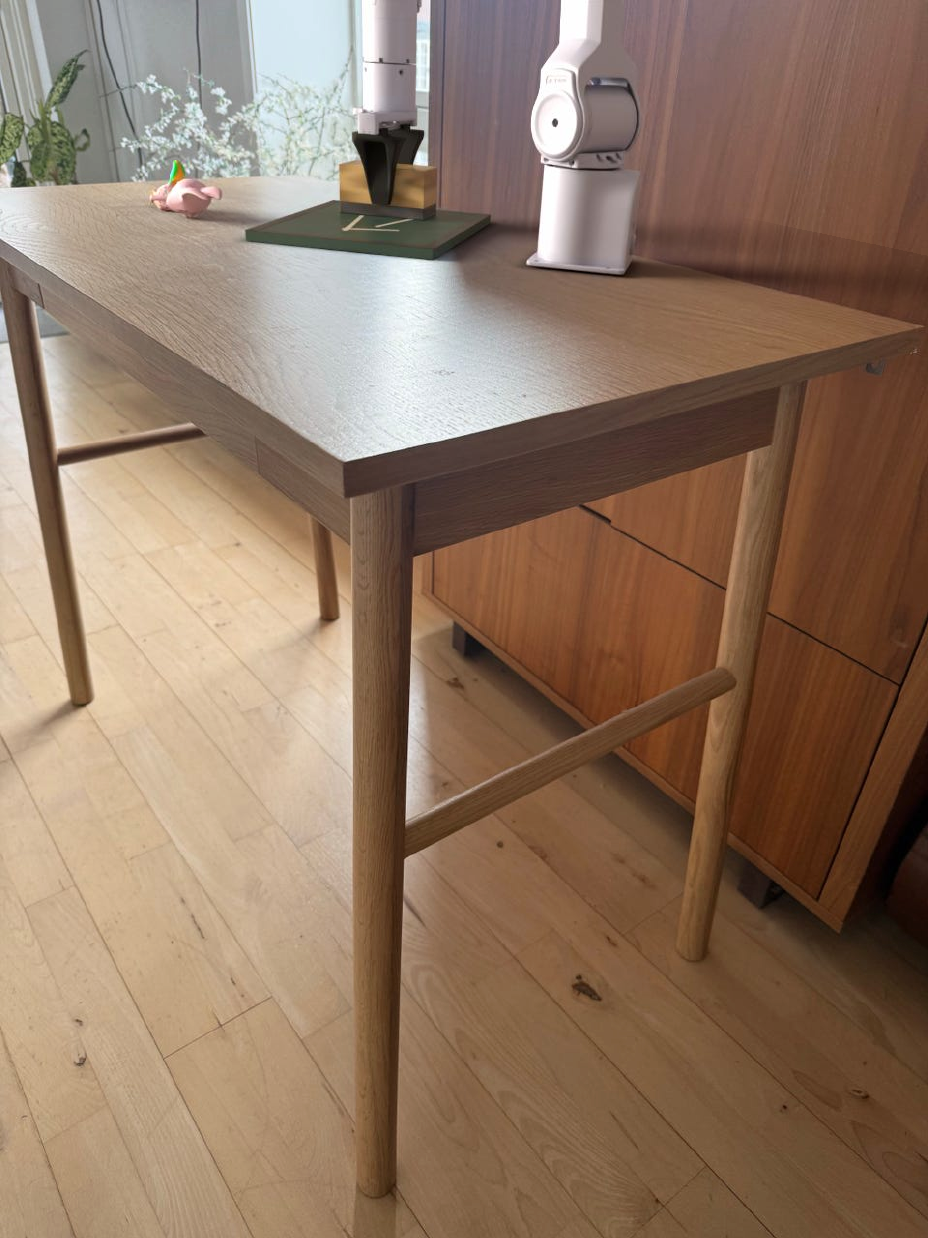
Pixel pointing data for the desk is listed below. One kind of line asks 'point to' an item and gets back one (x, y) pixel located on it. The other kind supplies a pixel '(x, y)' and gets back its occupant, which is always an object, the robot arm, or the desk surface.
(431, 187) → the eraser
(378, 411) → the desk surface
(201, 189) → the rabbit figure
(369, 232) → the chalkboard
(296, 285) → the desk surface
